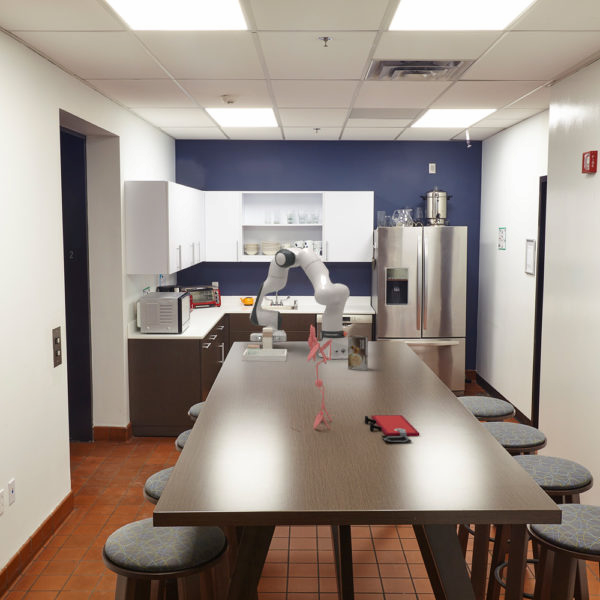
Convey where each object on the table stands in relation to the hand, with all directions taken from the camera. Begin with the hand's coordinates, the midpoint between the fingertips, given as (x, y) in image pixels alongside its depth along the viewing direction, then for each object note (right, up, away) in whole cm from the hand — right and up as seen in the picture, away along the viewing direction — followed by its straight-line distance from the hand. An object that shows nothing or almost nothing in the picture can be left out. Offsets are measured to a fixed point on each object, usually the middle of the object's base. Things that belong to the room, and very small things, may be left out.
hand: (267, 339), depth 359 cm
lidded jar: (-6, -9, -17) cm, 20 cm away
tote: (0, -10, -15) cm, 18 cm away
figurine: (+22, -22, -130) cm, 134 cm away
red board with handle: (+49, -23, -136) cm, 146 cm away
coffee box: (+46, -12, -36) cm, 60 cm away
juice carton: (0, -8, +2) cm, 8 cm away
